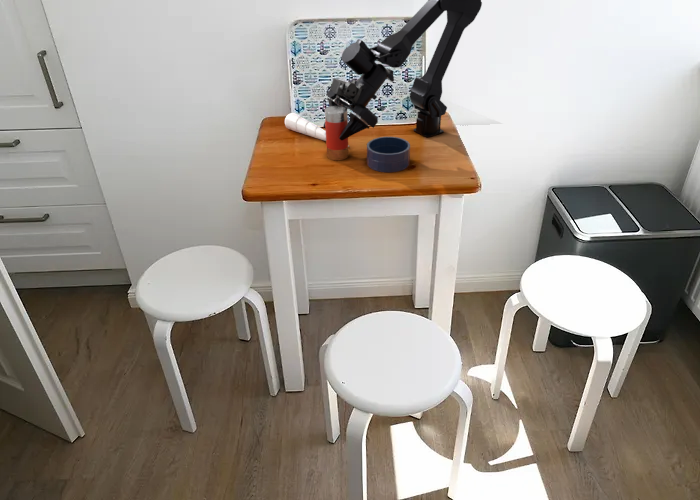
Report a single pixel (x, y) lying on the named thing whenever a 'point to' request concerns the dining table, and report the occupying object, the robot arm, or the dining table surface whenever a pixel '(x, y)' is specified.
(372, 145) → the pot
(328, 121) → the tin
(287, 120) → the unicorn horn
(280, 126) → the dining table surface
